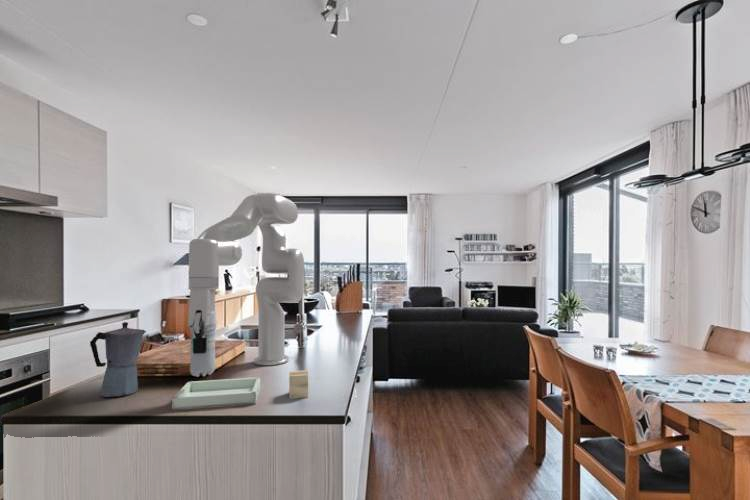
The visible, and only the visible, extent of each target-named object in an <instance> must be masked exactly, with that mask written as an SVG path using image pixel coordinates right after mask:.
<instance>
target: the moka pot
mask: <svg viewBox="0 0 750 500" xmlns="http://www.w3.org/2000/svg"><path fill="white" fill-rule="evenodd" d="M121 324H122V325H121V326H122V327H121V328H117V329H113V330H110V331H109V330H108V331H105V332H100V331H99V332H97V333H96V334H95V336H94V337H93V338H92V339H91V340H90V341H89V346H90V348H91V351H92V356H93V359H94V362H95V365H96V367H97V368H99V367H101V368H102V367H106V368H105V371H104V376H103V380H102V385H101V387H100V392H99V395H100V396H102V397H103V398H113V397H114V398H116V397H117V398H118V397H123V396H128V395H132V394H136V393H137V392H138V390H139V385H138V383H139V382H138V381H139V380H138V369H137V368H138V365H137V362H138V358H139V356H140V351H141V347H142V341H143V337H144V335H145V333H147V331H146V329H139V328H137V329H136V328H130V327H128V325H129V322H127V321H124V322H122V323H121ZM98 340H104V341H105V345H104V346H105V359H106V362H101V360H100V357H99V356H100V355H99V352H98V345H97V344H96V343H97V341H98Z"/></svg>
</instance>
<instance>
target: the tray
mask: <svg viewBox="0 0 750 500" xmlns="http://www.w3.org/2000/svg"><path fill="white" fill-rule="evenodd" d="M261 384H262V377H261V376H258V377H244V378H242V377H241V378H240V377H239V378H226V379H211V380H210V379H209V380H208V379H207V380H196V381H193V380H191V381H187V382H186V383H185V384H184V386H182V387H181V389H180V390H179V391H178V392H177V393H176V394H175V395H173V397H172V399H171V401H172V402H171V411H182V410H183V411H185V410H195V409H207V408H208V409H209V408H223V407H224V408H225V407H234V406H250V405H251V406H252V405H256V404H257V400H258V398H259V394H260V391H261V387H262V385H261Z"/></svg>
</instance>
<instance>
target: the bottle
mask: <svg viewBox="0 0 750 500" xmlns="http://www.w3.org/2000/svg"><path fill="white" fill-rule="evenodd" d="M194 321H195V320H194ZM193 324H194V323H193ZM217 324H218V323H217V317H216V311H215V312H214V311H212V313H211V317H210V322H209V325H208V326H207V327H206V335H205V338H206V337H207V351H206V353H199V354H194V353H193V334H194V328H193V326H194V325H191V326H192V327H189V328H190V329H189V330H190V332H191V333H190V359H189V360H190V361H189V372H190V374H191V375H192V376H193V377H197V378H198V377H200V374H201V375H202V377H206V376H207V375H208V376H210V375H212V374H213V373H214V372H215V370H216V353H215V352H216V329H217ZM200 326H204V323H200ZM200 329H202V332H203V328H200Z"/></svg>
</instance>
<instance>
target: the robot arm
mask: <svg viewBox="0 0 750 500" xmlns="http://www.w3.org/2000/svg"><path fill="white" fill-rule="evenodd" d="M298 210H299V209H298V207H297V205H296V203H295V202H293V200H291V199H288V198H286V197H285V196H282V195H280V194H277V193H263V194H262V193H261V194H258V193H257V194H251V195H250V194H249V195H247V196H246V197H245V198H244V199H243V200H242V201H241V203H240V204H239V205H238V206H237V208H236V209H235V210H234V211H233V212H232V214H231V215H230V216H229V217H226V218H224V219H223V220H221V221H219V222H216V223H214V224H213V225H211V226H208V227H207V228H206V229H204V230H203V231H202V232H201V233H200V234H199V235H198V237H196V238H193V239H192V240H191V241H190V242H189V245H188V290H190V294H189V303H188V316H187V317H188V319H187V326H188V327H189V328H190V327H192V326H191V325H194V326H193V328H194V334H193V353H194V354H199V353H206V351H207V337H206V338H205V335H206V327H207V326H208V325H209V322H210V317H211V313H212V311H214V312H215V313H216V291H215V290H219V289H220V288H219V285H220V284H219V281H220V280H219V278H220V277H219V276H220V275H219V273H220V271H219V268H220V266H228V267H229V266H233V265H236V264H237V263H239V262H240V260H241V259H242V256H243V249H242V247H241V245H240V244H239V243H238V242H236V241H238V240H241V239H245V238H247V237H249V236H250V235H252V234H253V232H254V231H255V229H256V228H257V227H258V228H259V229H260V232H261V235H262V236H261V237H262V250H261V251H262V254H261V267H262V270H263V272H265V273H266V274H273V275H274V274H275V275H276V274H280V275H282V274H283V275H287V274H288V277H287V276H285V277H284V276H283V277H280V276H269V277H263V278H261V279H260V280H258V281H257V283H256V285H255V293H256V299H257V309H258V311H257V313H258V332H257V333H258V345H257V346H258V350H257V351H258V352H257V353H258V356H257V357H256V358H254V359H253V363H254V364H255V365H258V366H277V365H282V364H285V363H287V362H288V361H290V357H289V356H287V355H285V347H286V346H285V343H286V342H285V338H286V337H285V329H286V327H285V323H286V322H285V317H286V316H285V311H284V309H283V307H282V306H281V304H280V303H282V304H283V303H287V304H289V303H290V304H292V303H293V304H294V303H295V304H296V303H298V302H300V301H301V300H302V297H303V293H304V278H305V259H304V255H303V252H302V251H301V250H300V249H298V248H287V247H286V243H287V242H286V240H287V239H286V238H287V236H286V234H285V233H284V230H283V229H282V228H281V227H280V226H279V225H290V224H294V223H295V222H296V221H297V219H298V216H299V211H298ZM194 320H195V321H194ZM193 323H194V324H193ZM200 323H204V326H200ZM200 328H203V332H202V329H200Z"/></svg>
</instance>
